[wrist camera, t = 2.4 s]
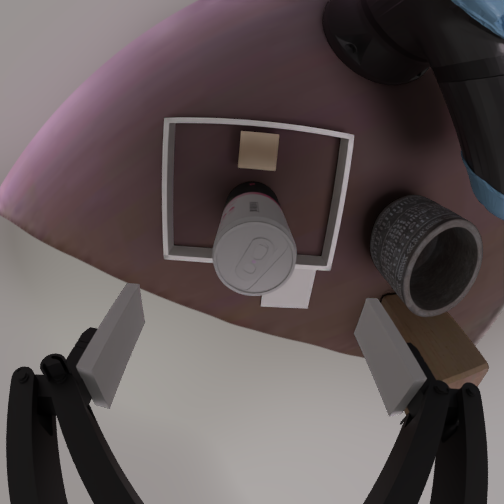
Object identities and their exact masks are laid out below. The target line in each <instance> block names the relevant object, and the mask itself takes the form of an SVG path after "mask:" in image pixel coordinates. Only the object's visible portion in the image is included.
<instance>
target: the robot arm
mask: <svg viewBox="0 0 504 504" xmlns="http://www.w3.org/2000/svg"><path fill="white" fill-rule="evenodd" d="M323 27H324V31H325V35H326V37H327V40H328V42H329V44H330V46H331V47H332V49H333V50H334V52H335V53H336V54H337V56H338V57H339V58H340V59H341V60H342V61H343V62H344V63H345V64H346V65H347V66H348V67H349V68H350V69H352V70H353V71H354V72H356V73H357V74H359V75H361V76H362V77H364V78H366V79H368V80H371V81H374V82H377V83H380V84H386V85H397V84H403V83H407V82H411V81H414V80H416V79H418V78H419V77H421V76H422V75H423V74H424V73H425V72H426V71H427V70H428V68H429V67H431V68H432V70H433V72H434V74H435V77H436V79H437V82H438V84H439V87H440V89H441V91H442V94H443V96H444V99H445V101H446V104H447V107H448V109H449V112H450V115H451V118H452V121H453V124H454V127H455V130H456V133H457V136H458V139H459V143H460V146H461V157H462V160H463V163H464V165H465V167H466V169H467V172H468V175H469V179H470V183H471V187H472V190H473V192H474V194H475V196H476V198H477V199H478V201H479V202H480V203H481V204H483V205H484V206H485V207H486V209H487V210H488V211H489V212H491V213H492V214H493V215H495V216H497V217H498V218H500V219H502V220H504V0H330V1H329V2H328V3H327V5H326V7H325V10H324V14H323ZM144 323H145V320H144V314H143V307H142V301H141V293H140V286H139V284H132V283H127V284H126V286H125V287H124V288H123V290H122V291H121V293H120V295H119V296H118V298H117V299H116V301H115V302H114V304H113V305H112V307H111V309H110V310H109V312H108V313H107V315H106V316H105V318H104V320H103V321H102V323H101V324H100V326H99V328H98V329H96V328H91V327H90V328H89V329H87V330H86V331H85V332H84V333H82V335H81V336H80V338H79V340H78V342H77V343H76V344H75V347H74V348H73V349H72V351H71V353H70V354H69V356H68V358H67V359H65V358H64V356H62V355H60V354H50V355H48V356H46V357H45V358H44V359H43V360H42V362H41V364H40V369H41V371H42V373H43V374H44V375H35V374H34V372H33V371H32V369H30V368H29V367H20V368H18V369H17V370H15V372H14V373H13V375H12V379H11V386H10V394H9V402H8V414H7V434H6V457H7V475H8V487H9V495H10V502H11V504H68V502H67V498H66V494H65V489H64V484H63V478H62V473H61V466H60V459H59V452H58V451H59V450H58V441H57V429H56V416H57V418H58V421H59V424H60V427H61V430H62V433H63V436H64V439H65V441H66V444H67V447H68V449H69V452H70V454H71V457H72V459H73V462H74V464H75V465H76V468H77V471H78V473H79V475H80V477H81V479H82V481H83V483H84V485H85V487H86V489H87V491H88V493H89V495H90V497H91V499H92V501H93V503H94V504H144V503H143V502H142V500H141V499H140V497H139V496H138V494H137V493H136V491H135V490H134V488H133V487H132V485H131V484H130V482H129V481H128V479H127V477H126V476H125V474H124V472H123V471H122V469H121V467H120V466H119V464H118V462H117V460H116V459H115V457H114V455H113V453H112V451H111V449H110V447H109V445H108V443H107V441H106V440H105V438H104V435H103V434H102V431H101V429H100V427H99V425H98V423H97V421H96V418H95V416H94V414H93V412H92V410H91V407H90V405H89V403H90V401H91V399H92V400H93V402H94V403H95V405H97V406H101V407H104V408H109V409H110V406H111V404H112V401H113V398H114V396H115V393H116V391H117V388H118V385H119V383H120V380H121V378H122V375H123V373H124V370H125V368H126V365H127V362H128V360H129V358H130V356H131V353H132V351H133V349H134V346H135V344H136V341H137V339H138V337H139V335H140V332H141V330H142V328H143V326H144ZM354 335H355V337H356V339H357V341H358V343H359V346H360V348H361V350H362V352H363V355H364V357H365V359H366V361H367V364H368V366H369V368H370V371H371V373H372V376H373V378H374V380H375V383H376V385H377V387H378V390H379V392H380V395H381V397H382V400H383V402H384V405H385V407H386V410H387V412H388V415H389V416H393V415H398V414H401V413H402V412H403V411H404V410H405V409H406V407H407V408H408V410H409V413H408V414H407V415H406V417H405V418H404V419H403V420H402V421H401V423H400V424H402V423H403V422H404V423H403V425H402V428H401V431H400V433H399V435H398V437H397V440H396V442H395V444H394V447H393V449H392V451H391V453H390V455H389V457H388V460H387V461H386V464H385V466H384V468H383V470H382V471H381V473H380V475H379V477H378V479H377V481H376V483H375V484H374V486H373V488H372V490H371V492H370V493H369V495H368V497H367V498H366V500H365V502H364V503H363V504H418V502H419V500H420V497H421V495H422V492H423V490H424V487H425V485H426V482H427V480H428V477H429V474H430V471H431V469H432V465H433V462H434V460H435V469H434V479H433V487H432V494H431V501H430V504H487V491H488V459H487V458H488V457H487V441H486V430H485V421H484V413H483V406H482V400H481V395H480V391H479V389H478V387H477V386H476V385H475V384H473V383H470V382H466V383H464V384H463V385H462V387H461V388H460V389H453V388H449V386H448V385H447V384H446V383H445V382H443V381H441V380H436V379H435V377H434V375H433V374H432V372H431V370H430V368H429V367H428V365H427V363H426V362H424V359H423V357H422V356H421V354H420V352H419V350H418V349H417V348H416V347H415V346H414V345H413V344H412V343H411V342H410V343H406V342H405V340H404V339H403V337H402V335H401V334H400V332H399V331H398V329H397V328H396V326H395V324H394V323H393V321H392V320H391V318H390V317H389V315H388V314H387V312H386V310H385V309H384V307H383V306H382V304H381V303H380V301H379V300H378V298H366V301H365V304H364V307H363V310H362V313H361V316H360V319H359V321H358V324H357V327H356V330H355V332H354ZM435 456H436V457H435Z"/></svg>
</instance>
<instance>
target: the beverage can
mask: <svg viewBox="0 0 504 504" xmlns="http://www.w3.org/2000/svg"><path fill="white" fill-rule="evenodd" d="M212 259H213V264H214V267H215V271H216V273H217V275H218V277H219V278H220V280H221V281H222V282H223V283H224V284H225V285H226V286H227V287H228V288H230V289H231V290H233V291H235V292H237V293H240V294H243V295H249V296H260V295H265V294H269V293H271V292H274V291H276V290H277V289H279V288H281V287H282V286H283V285H284V284H285V283H286V282H287V281H288V280H289V278H290V277H291V275H292V273H293V271H294V268H295V264H296V259H297V249H296V245H295V242H294V239H293V236H292V234H291V231H290V229H289V226H288V224H287V221H286V219H285V216H284V214H283V211H282V209H281V206H280V204H279V202H278V199H277V197H276V195H275V193H274V192H273V191H272V190H271V189H270V188H269V187H268V186H266V185H264V184H262V183H258V182H247V183H243V184H241V185H239V186H237V187H236V188H234V189H233V190H232V191H231V193H230V194H229V196H228V198H227V201H226V204H225V207H224V211H223V214H222V218H221V221H220V225H219V228H218V231H217V235H216V239H215V242H214V246H213V251H212Z"/></svg>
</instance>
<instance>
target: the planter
mask: <svg viewBox="0 0 504 504" xmlns="http://www.w3.org/2000/svg"><path fill="white" fill-rule="evenodd" d="M370 251H371V257H372V260H373V262H374V264H375V266H376V268H377V269H378V271H379V272H380V273H381V274H382V276H383V277H384V278H385V279H386V280H387V281H388V283H389V284H390V285H391V287H392V288H393V290H394V291H395V292H396V294H397V295H398V296H399V297H400V299H401V300H402V301H403V302H404V304H405V305H406V306H407V308H408V309H409V310H410V311H411V312H412V313H414V314H415V315H418V316H421V317H432V316H437V315H440V314H442V313H445V312H447V311H448V310H450V309H452V308H453V307H454V306H456V305H457V304H458V303H459V302H460V301H461V300H462V299H463V298H464V297H465V295H466V294H467V293H468V291H469V290H470V288H471V287H472V285H473V283H474V282H475V280H476V277H477V275H478V273H479V270H480V267H481V263H482V257H483V244H482V239H481V236H480V233H479V231H478V229H477V228H476V227H475V226H474V225H473V224H472V223H471V222H469V221H468V220H466V219H464V218H462V217H461V216H459V215H457V214H456V213H454V212H452V211H451V210H449V209H447V208H445V207H443V206H441V205H439V204H438V203H436V202H434V201H432V200H430V199H428V198H426V197H423V196H420V195H408V196H404V197H402V198H399V199H397V200H395V201H393V202H392V203H390V204H389V205H388V206H387V207H385V208H384V209H383V211H382V212H381V213H380V214H379V216H378V217H377V219H376V221H375V224H374V226H373V230H372V234H371V241H370Z"/></svg>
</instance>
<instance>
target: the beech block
mask: <svg viewBox="0 0 504 504" xmlns="http://www.w3.org/2000/svg"><path fill="white" fill-rule="evenodd" d="M278 143H279V135H278V134H270V133H260V132H249V131H241V138H240V149H239V161H238V168H248V169H259V170H270V171H276V162H277V153H278Z"/></svg>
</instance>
